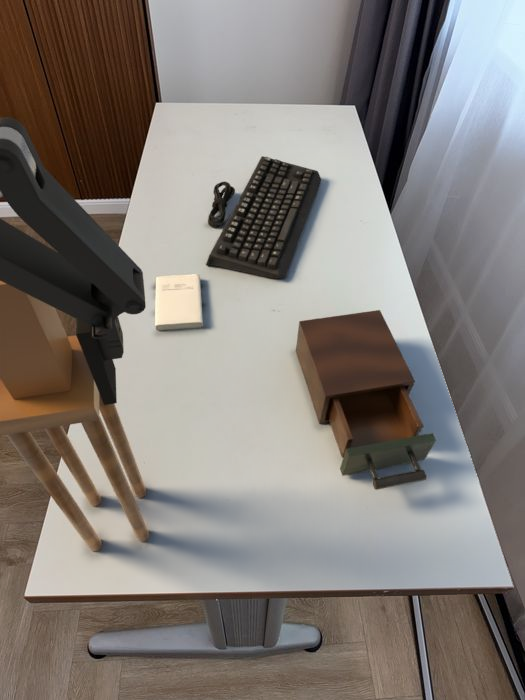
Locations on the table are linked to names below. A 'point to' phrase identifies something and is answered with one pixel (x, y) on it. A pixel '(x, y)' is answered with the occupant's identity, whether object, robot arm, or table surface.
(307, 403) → the table surface
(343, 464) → the drawer
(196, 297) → the hard drive
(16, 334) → the block
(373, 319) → the cabinet
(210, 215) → the keyboard
